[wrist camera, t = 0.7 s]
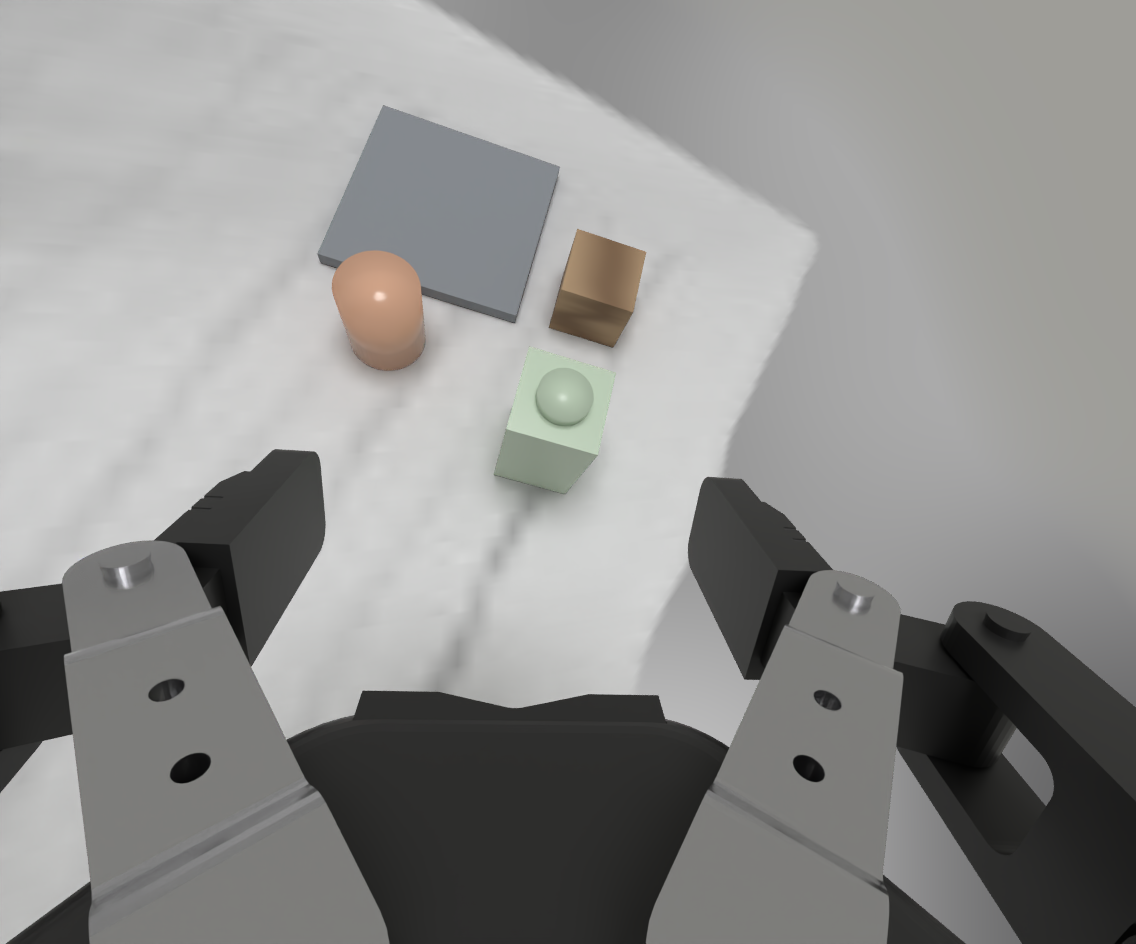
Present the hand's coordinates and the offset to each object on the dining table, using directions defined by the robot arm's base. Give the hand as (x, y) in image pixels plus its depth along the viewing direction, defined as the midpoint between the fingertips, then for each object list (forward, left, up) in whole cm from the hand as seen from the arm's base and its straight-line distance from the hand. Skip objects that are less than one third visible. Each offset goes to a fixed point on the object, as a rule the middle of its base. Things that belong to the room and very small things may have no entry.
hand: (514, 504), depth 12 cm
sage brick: (+2, +10, -25) cm, 27 cm away
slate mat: (-9, +26, -25) cm, 37 cm away
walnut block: (+3, +22, -25) cm, 33 cm away
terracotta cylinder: (-10, +15, -25) cm, 31 cm away
